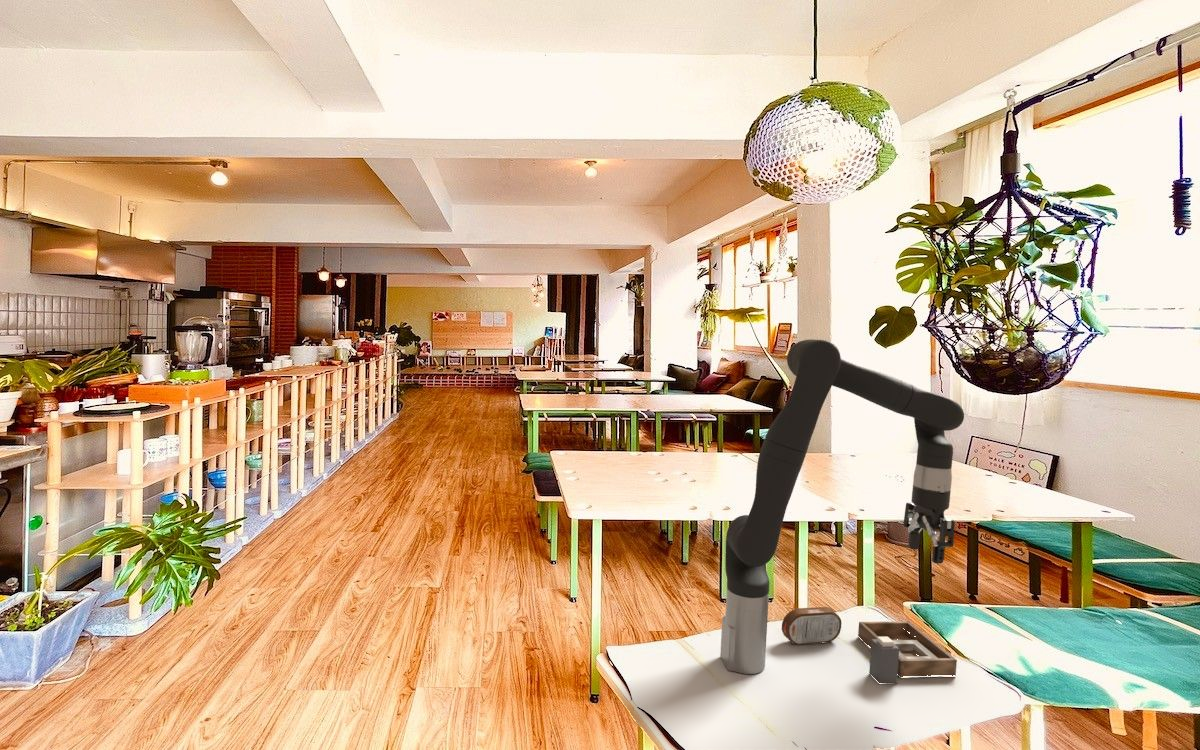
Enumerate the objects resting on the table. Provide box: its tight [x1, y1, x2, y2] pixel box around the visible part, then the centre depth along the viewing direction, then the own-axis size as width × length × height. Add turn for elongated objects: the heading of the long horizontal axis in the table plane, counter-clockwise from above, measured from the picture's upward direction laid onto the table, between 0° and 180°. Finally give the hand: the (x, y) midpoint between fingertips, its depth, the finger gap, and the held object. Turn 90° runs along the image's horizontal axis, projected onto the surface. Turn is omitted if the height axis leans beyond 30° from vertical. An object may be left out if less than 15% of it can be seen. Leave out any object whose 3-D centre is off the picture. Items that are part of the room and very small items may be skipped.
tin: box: [781, 606, 842, 646], centre depth 148 cm, size 15×3×8 cm, turn 102°
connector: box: [868, 637, 899, 684], centre depth 133 cm, size 4×4×9 cm
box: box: [857, 620, 958, 677], centre depth 143 cm, size 13×18×4 cm
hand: (925, 555), depth 138 cm, fingers open, 8 cm apart
